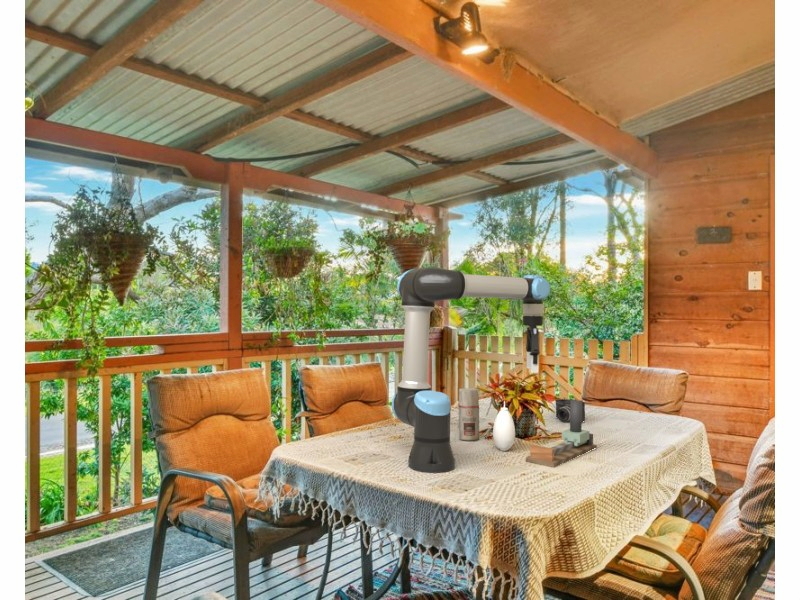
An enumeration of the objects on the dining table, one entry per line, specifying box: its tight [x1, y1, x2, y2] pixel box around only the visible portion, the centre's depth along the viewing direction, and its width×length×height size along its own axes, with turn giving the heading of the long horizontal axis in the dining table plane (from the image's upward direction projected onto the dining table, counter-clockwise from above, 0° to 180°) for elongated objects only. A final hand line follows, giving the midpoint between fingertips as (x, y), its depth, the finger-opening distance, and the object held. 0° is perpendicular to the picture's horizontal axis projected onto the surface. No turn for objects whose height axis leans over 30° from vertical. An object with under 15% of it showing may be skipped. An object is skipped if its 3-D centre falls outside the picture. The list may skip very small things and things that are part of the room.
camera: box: [555, 397, 586, 423], centre depth 257 cm, size 14×11×10 cm
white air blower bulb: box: [492, 400, 516, 452], centre depth 202 cm, size 8×8×18 cm
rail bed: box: [525, 432, 598, 468], centre depth 197 cm, size 34×10×6 cm, turn 138°
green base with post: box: [561, 399, 591, 446], centre depth 204 cm, size 8×7×15 cm
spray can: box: [458, 387, 480, 441], centre depth 218 cm, size 8×8×20 cm
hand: (532, 370), depth 214 cm, fingers open, 13 cm apart
